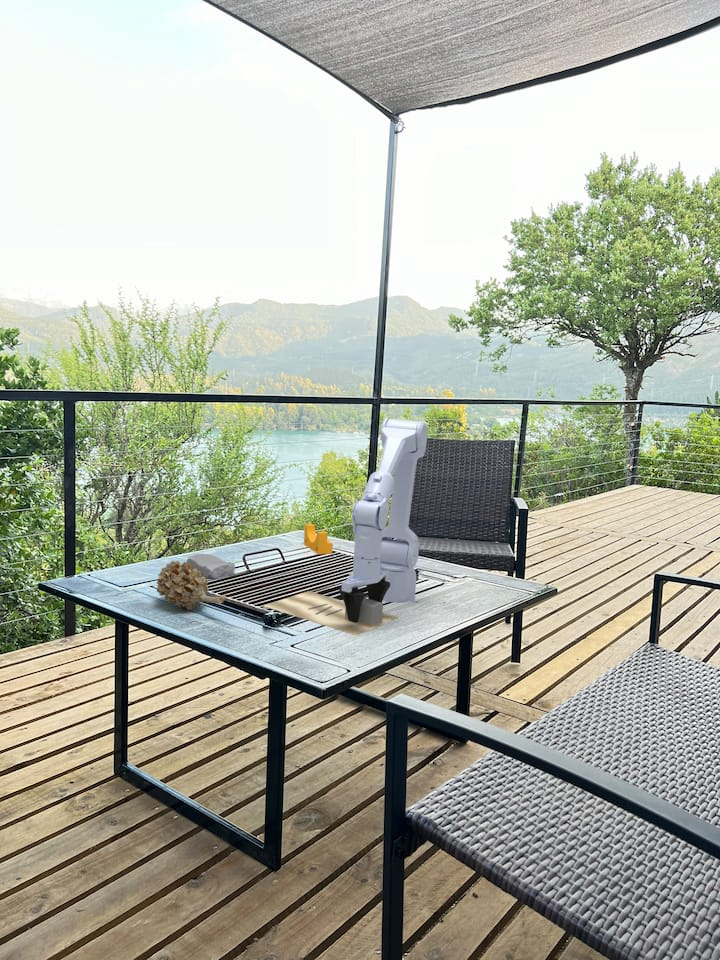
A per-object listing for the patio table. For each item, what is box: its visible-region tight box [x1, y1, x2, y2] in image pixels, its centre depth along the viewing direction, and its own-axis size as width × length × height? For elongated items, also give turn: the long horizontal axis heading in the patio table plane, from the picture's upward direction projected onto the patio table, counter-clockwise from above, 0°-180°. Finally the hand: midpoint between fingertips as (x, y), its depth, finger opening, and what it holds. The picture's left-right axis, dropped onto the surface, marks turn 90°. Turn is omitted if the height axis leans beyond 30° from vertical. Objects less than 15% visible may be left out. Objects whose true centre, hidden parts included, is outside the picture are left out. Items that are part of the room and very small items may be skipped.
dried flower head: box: [156, 560, 226, 611], centre depth 174 cm, size 22×10×10 cm, turn 56°
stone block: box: [185, 553, 236, 580], centre depth 205 cm, size 12×5×10 cm
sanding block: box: [345, 597, 384, 627], centre depth 169 cm, size 4×7×4 cm, turn 54°
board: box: [262, 590, 399, 636], centre depth 175 cm, size 16×26×2 cm, turn 54°
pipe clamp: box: [303, 523, 333, 555], centre depth 236 cm, size 12×4×6 cm, turn 25°
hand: (363, 617), depth 170 cm, fingers open, 7 cm apart
